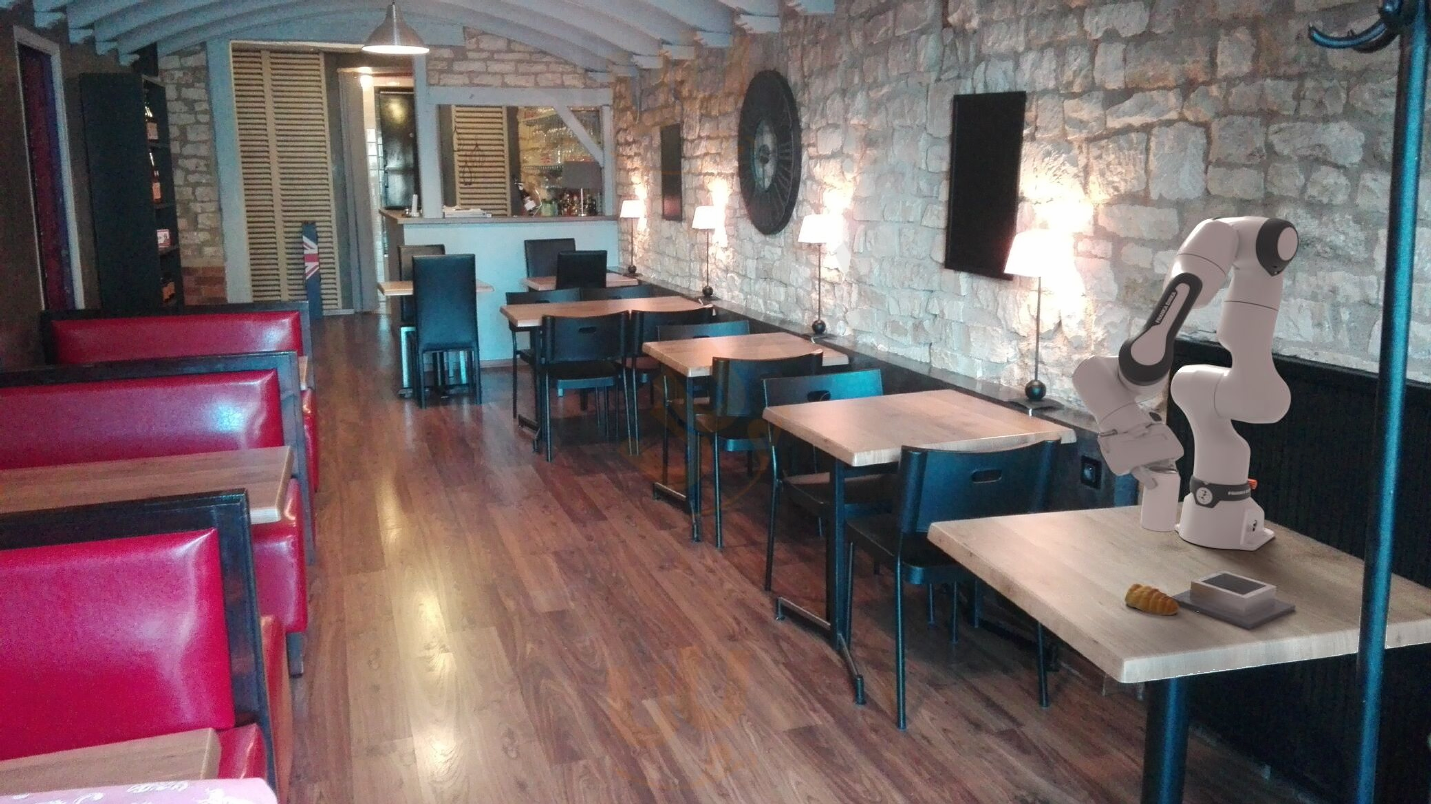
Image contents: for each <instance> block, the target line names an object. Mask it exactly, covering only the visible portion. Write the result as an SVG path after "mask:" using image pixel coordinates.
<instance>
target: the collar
mask: <svg viewBox="0 0 1431 804" xmlns="http://www.w3.org/2000/svg"><path fill="white" fill-rule="evenodd" d="M1276 595H1277V586H1276V585H1273V584H1271V583H1268V582H1267V583H1266V582H1263V581H1261V580H1260V581H1259V580H1257V579H1254V578H1250V577H1246V576H1243V575H1241V574H1236V573H1233V572H1230V571H1227V570H1223V569H1221V570H1219V571H1215V572H1212V573H1210V574H1207V575H1204V576H1202V577H1199V578H1196V579H1193V580H1191V581H1190V588H1189V589H1188V590H1185V591H1182V592H1180V593H1177V594H1175V595H1171V596H1170V597H1171V598H1173V600H1175V601H1176V602H1177V603H1178V605H1180V606H1179V607H1182V608H1184V607H1185V609H1187V608H1188V610H1190V609H1192V610H1191V611H1193V610H1194V612H1196V611H1199V612H1201V613H1200V614H1202V613H1204V614H1203V615H1205V614H1206V616H1208V615H1209V616H1208V617H1211V616H1212V618H1214V619H1217V620H1220V621H1223V622H1226V623H1229V624H1232V625H1235V626H1238V627H1242V628H1244V629H1247V630H1252V629H1255V628H1257V627H1259V626H1261V624H1262V625H1263V624H1266V623H1268V622H1270V620H1271V621H1273V620H1276V619H1277V618H1280V617H1282V615H1283V616H1284V614H1285V613H1287V614H1289V613H1288V612H1290V611H1292V612H1294V611H1295V610H1296V605H1295V604H1292V603H1289V602H1286V601H1283V600H1280V599H1277V598H1276ZM1293 610H1294V611H1293ZM1199 612H1198V613H1199ZM1290 613H1291V612H1290ZM1285 615H1286V614H1285ZM1275 618H1276V619H1275Z"/></svg>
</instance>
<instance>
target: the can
mask: <svg viewBox="0 0 1431 804" xmlns="http://www.w3.org/2000/svg"><path fill="white" fill-rule="evenodd" d="M1176 469H1177V468H1176ZM1176 469H1173V468H1169V467H1162V466H1152V467H1149V469H1148V471H1147V472H1146V473H1147V474H1148V475H1149V476H1150V477H1151V478H1154V479H1155V480H1156V482H1157V483H1158V486H1157V487H1155V488H1154V489H1151V490H1148V489H1147V488H1146V487H1145V485H1144V484H1143V495H1142V502H1141V509H1140V510H1141V511H1140V512H1141V513H1140V522H1139V523H1140V526H1141V528H1143V529H1145V530H1147V531H1151V532H1155V533H1170V532H1173V531H1174V530H1175V525H1176V523H1177V522H1176V520H1177V512H1178V505H1179V504H1178V503H1179V495H1180V485H1181V480H1180V477H1181V476H1180V474H1179V472H1180V471H1179V470H1178V469H1177V470H1176ZM1179 476H1180V477H1179Z"/></svg>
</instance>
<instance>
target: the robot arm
mask: <svg viewBox="0 0 1431 804" xmlns="http://www.w3.org/2000/svg"><path fill="white" fill-rule="evenodd" d="M1299 239H1300V238H1299V233H1298V230H1297V229H1296V227H1295V225H1294V223H1292V222H1291V221H1289V220H1287V219H1283V218H1279V217H1270V218H1269V217H1263V216H1255V215H1254V216H1253V215H1252V216H1251V215H1244V216H1233V217H1232V216H1231V217H1220V216H1219V217H1212V218H1208V219H1205V220H1203V221H1201V222H1199V223H1198V224H1197V225H1196V226H1195V227H1194V228H1193V230H1192V231H1191V232H1190V234H1188V235H1187V237H1186V238H1185V240H1184V241H1183V242H1182V244H1181V245H1180V247H1179V249H1178V251H1177V252H1176V254H1175V255H1174V258H1172V261H1171V263H1170V264H1169V267H1168V270H1167V271H1166V274H1165V277H1164V279H1163V283H1162V293H1161V295H1160V298H1159V299H1158V301H1157V303H1156V304H1155V307H1154V309H1153V310H1152V311H1151V313H1150V315H1149V316H1148V318H1147V320H1146V322H1145V323H1144V325H1143V326H1142V327H1141V328H1140V329H1138V330H1137V331H1136V332H1135V333H1133V334H1132V335H1131V336H1129V337H1128V338H1127V339H1126V340H1125V341H1124V342H1123V343H1122V344H1121V346H1120V348H1119V350H1118V351H1119V352H1118V355H1100V354H1093V355H1091V356H1089V357H1087V358H1085V359H1084V360H1083V361H1082V362H1081V363H1080V364H1078V365H1077V367H1076V368H1075V369H1074V371H1073V374H1072V377H1071V382H1072V386H1073V388H1074V390H1075V392H1076V394H1077V395H1078V398H1079V399H1080V401H1081V402H1082V404H1083V406H1084V408H1086V410H1087V411H1088V412H1089V413H1091V415H1092V416H1093V417H1094V419H1095V422H1096V424H1097V427H1098V428H1099V430H1100V432H1099V433H1098V436H1097V440H1096V441H1097V443H1098V444H1099V447H1100V452H1101V455H1102V456H1103V458H1104V461H1105V462H1106V464H1107V466H1108V468H1109V469H1110V471H1111V472H1112V473H1113V474H1115V476H1118V477H1119V476H1120V477H1121V476H1124V475H1129V474H1132V476H1133V477H1134V478H1135V479H1136V480H1138V481H1139V482H1141V483H1142V484H1143V486H1144V485H1145V487H1146V488H1147V489H1148V490H1151V489H1154V488H1155V487H1157V486H1158V483H1157V482H1156V480H1155V479H1154V478H1151V477H1150V476H1149V475H1148V474H1147V472H1146V470H1149V467H1152V466H1161V467H1169V468H1173V469H1176V470H1178V469H1177V464H1176V461H1178V460H1180V458H1182V457H1183V456H1184V454H1185V453H1184V451H1185V450H1184V447H1183V446H1182V444H1181V442H1180V441H1179V439H1178V438H1177V436H1176V434H1175V433H1174V432H1173V430H1172V429H1171V428H1170V427H1169V426H1168V425H1166V424H1165V423H1164V422H1165V421H1166V420H1165V417H1164V416H1163V415H1162V413H1159V412H1155V411H1151V410H1147V409H1146V408H1141V407H1140V405H1139V404H1140V403H1143V402H1146V401H1148V400H1151V399H1154V398H1156V397H1157V396H1159V395H1160V394H1161V393H1162V392H1163V391H1164V390H1165V388H1166V385H1167V382H1168V378H1169V373H1170V371H1171V367H1172V365H1173V362H1174V355H1175V354H1174V353H1175V352H1174V344H1175V340H1176V338H1177V336H1178V334H1179V332H1180V330H1181V328H1182V327H1183V325H1184V323H1185V322H1186V320H1187V318H1188V316H1189V314H1190V313H1191V312H1192V310H1199V309H1202V308H1205V307H1207V306H1208V305H1209V304H1210V303H1211V302H1212V300H1214V298H1215V297H1216V296H1217V294H1218V293H1219V291H1220V290H1221V288H1222V286H1223V285H1224V282H1225V281H1226V279H1227V277H1228V275H1229V273H1230V271H1231V269H1233V275H1232V278H1231V280H1230V283H1229V285H1228V287H1227V290H1226V293H1225V297H1224V300H1223V301H1224V302H1223V306H1222V308H1221V313H1220V317H1219V319H1218V323H1217V329H1216V338H1217V340H1218V342H1219V343H1220V344H1221V346H1222V347H1223V348H1225V349H1226V350H1227V351H1228V352H1230V355H1231V359H1232V365H1231V367H1225V366H1217V365H1212V364H1204V363H1203V364H1189V365H1187V364H1186V365H1183V366H1182V367H1181V368H1179V370H1177V371H1176V373H1174V376H1173V378H1172V380H1171V383H1170V384H1171V385H1170V394H1171V397H1172V400H1173V401H1174V403H1175V404H1176V405H1177V406H1178V407H1179V408H1180V410H1182V412H1183V413H1184V414H1185V416H1186V418H1187V421H1188V422H1189V425H1190V427H1191V430H1192V434H1193V439H1194V465H1193V474H1192V475H1191V476H1190V479H1189V492H1190V493H1188V495H1187V494H1186V495H1185V497H1184V499H1183V503H1182V509H1181V515H1180V518H1179V519H1180V521H1179V523H1177V524H1176V523H1175V529H1174V530H1175V531H1176V532H1178V535H1179V536H1180V538H1181V539H1183V540H1185V541H1187V542H1189V543H1192V544H1195V545H1198V546H1201V547H1202V546H1203V547H1208V548H1213V549H1225V550H1244V551H1255V550H1257V549H1258V548H1260V547H1262V546H1263V545H1264V544H1266V543H1267V542H1269V541H1270V540H1271V539H1273V538H1274V537H1275V532H1274V531H1273V530H1271V529H1269V528H1266V527H1264V525H1265V511H1264V510H1263V508H1262V507H1261V506H1260V505H1258V503H1257V502H1256V501H1255V500H1254V499H1253V498H1252V497H1251V496H1252V495H1251V494H1252V493H1251V490H1252V489H1253V490H1255V489H1256V487H1258V486H1257V485H1258V482H1257V480H1256V479H1250V478H1248V477H1249V470H1250V469H1249V468H1250V462H1251V461H1250V460H1251V459H1250V458H1251V448H1250V446H1249V443H1248V442H1247V440H1245V438H1243V437H1242V436H1241V435H1239V434H1238V433H1237V431H1236V430H1235V428H1234V426H1233V424H1232V421H1231V420H1234V421H1240V422H1245V423H1249V424H1274V423H1277V422H1279V421H1280V420H1281V419H1282V418H1284V416H1286V414H1287V413H1288V411H1289V409H1290V405H1291V399H1292V396H1291V391H1290V389H1289V386H1288V385H1287V382H1286V381H1284V379H1283V378H1282V377H1281V375H1280V374H1279V373H1278V371H1277V369H1276V367H1275V363H1274V359H1273V355H1272V354H1273V353H1272V344H1273V338H1274V332H1275V328H1276V323H1277V318H1278V314H1279V311H1280V305H1281V301H1282V296H1283V288H1284V286H1283V285H1284V271H1285V269H1286V268H1287V266H1289V265H1290V263H1292V261H1293V260H1294V258H1295V257H1296V254H1297V252H1298V250H1299V244H1300V243H1299V242H1300V241H1299ZM1179 477H1180V481H1181V479H1182V478H1181V476H1180V475H1179Z"/></svg>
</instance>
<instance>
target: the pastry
mask: <svg viewBox="0 0 1431 804" xmlns="http://www.w3.org/2000/svg"><path fill="white" fill-rule="evenodd" d="M1124 602H1125V603H1126V604H1127V606H1129V607H1131V608H1135V609H1137V610H1138V609H1140V610H1139V611H1141V610H1142V612H1147V611H1148V612H1147V613H1149V612H1151V613H1150V614H1154V613H1156V615H1159V614H1161V616H1172V615H1175V614H1176V613H1178V611H1179V608H1180V606H1179V605H1178V603H1177V602H1176V601H1175V600H1173V598H1171V596H1170V595H1168V594H1167V593H1165V592H1162V591H1160V590H1159V589H1158V588H1152V586H1149V585H1146V586H1143V585H1141V584H1140V583H1134V584H1132V585H1131V586H1130V587H1129V588H1128V589H1127V592H1126V594H1125V596H1124Z"/></svg>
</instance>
